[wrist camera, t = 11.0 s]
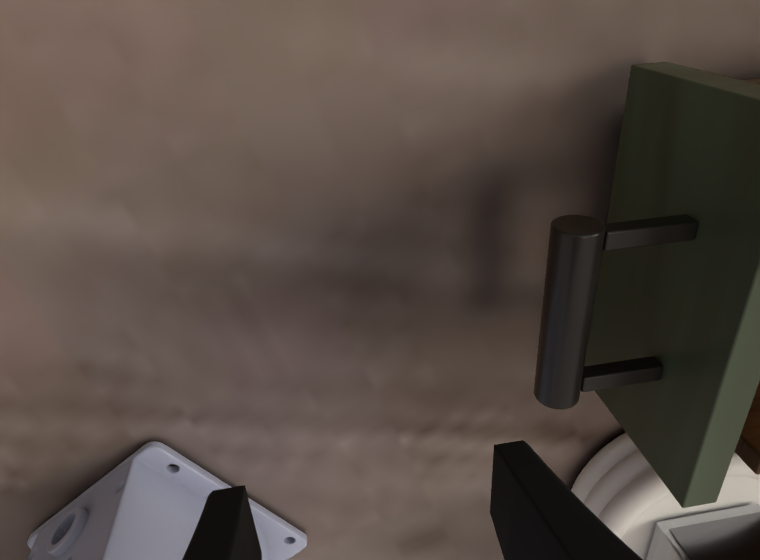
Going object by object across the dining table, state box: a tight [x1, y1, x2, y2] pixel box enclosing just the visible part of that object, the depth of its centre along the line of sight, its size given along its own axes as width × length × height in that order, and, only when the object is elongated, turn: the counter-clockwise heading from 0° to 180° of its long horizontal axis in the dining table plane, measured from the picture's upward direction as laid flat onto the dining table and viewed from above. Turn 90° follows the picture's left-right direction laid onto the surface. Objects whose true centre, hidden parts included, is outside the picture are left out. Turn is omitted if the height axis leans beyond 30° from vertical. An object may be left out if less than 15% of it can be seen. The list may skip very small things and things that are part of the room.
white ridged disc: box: [571, 432, 760, 560], centre depth 28 cm, size 10×10×4 cm
